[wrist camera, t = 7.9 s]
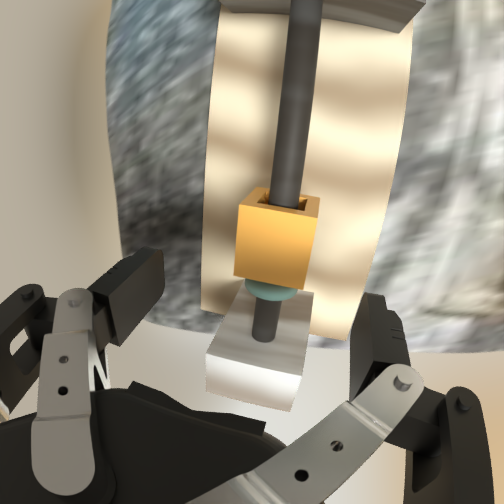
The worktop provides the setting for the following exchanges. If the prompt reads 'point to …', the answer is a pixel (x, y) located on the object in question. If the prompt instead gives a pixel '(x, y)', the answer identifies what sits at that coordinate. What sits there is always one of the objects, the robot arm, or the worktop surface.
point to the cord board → (329, 153)
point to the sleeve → (275, 239)
